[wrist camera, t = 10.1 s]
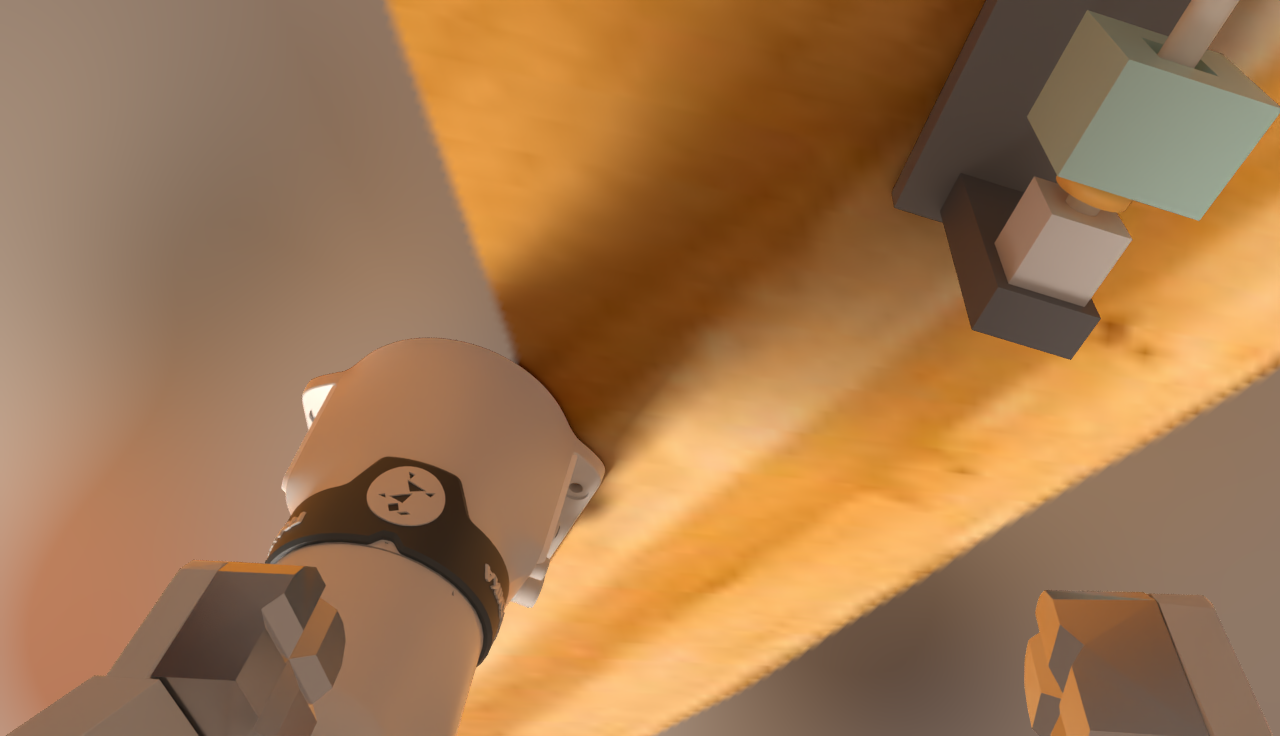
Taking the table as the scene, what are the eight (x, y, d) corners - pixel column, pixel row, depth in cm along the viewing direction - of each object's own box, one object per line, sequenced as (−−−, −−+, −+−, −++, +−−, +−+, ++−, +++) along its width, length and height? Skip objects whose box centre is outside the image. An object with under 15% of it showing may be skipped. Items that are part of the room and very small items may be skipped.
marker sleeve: (1152, 156, 34) (1199, 220, 30) (1026, 116, 34) (1057, 176, 30) (1221, 53, 32) (1282, 109, 28) (1087, 9, 31) (1129, 59, 27)
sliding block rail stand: (1049, 241, 44) (1112, 384, 35) (891, 192, 43) (915, 325, 35) (1404, -314, 30) (1650, -305, 21) (1179, -393, 30) (1337, -417, 21)
